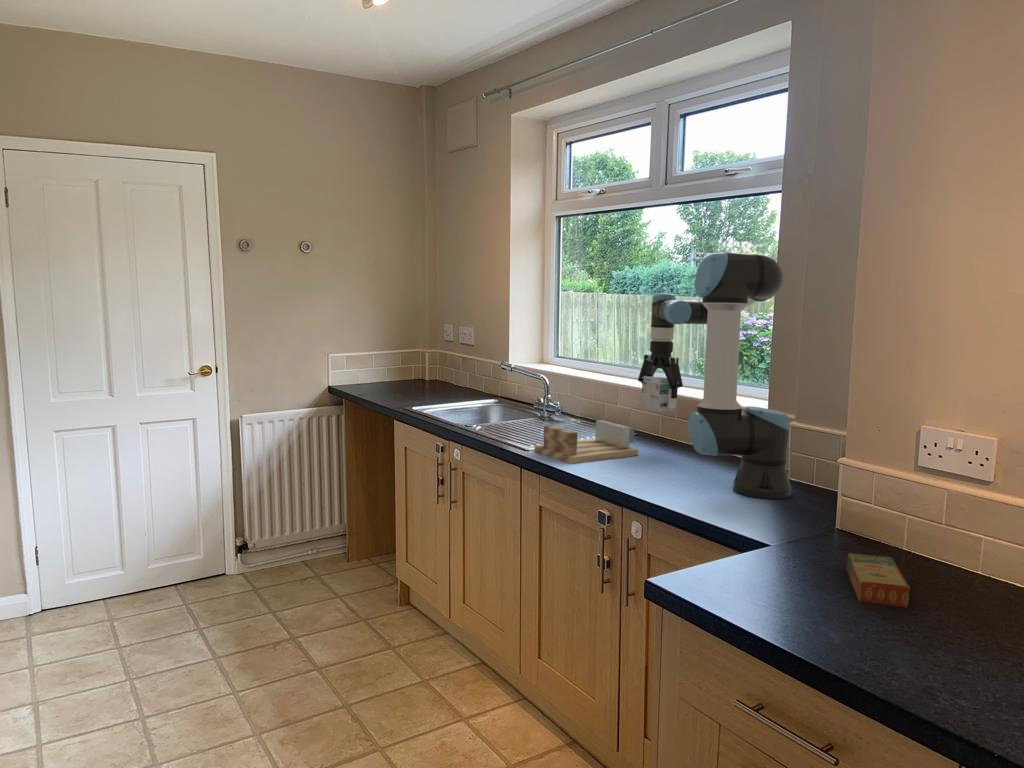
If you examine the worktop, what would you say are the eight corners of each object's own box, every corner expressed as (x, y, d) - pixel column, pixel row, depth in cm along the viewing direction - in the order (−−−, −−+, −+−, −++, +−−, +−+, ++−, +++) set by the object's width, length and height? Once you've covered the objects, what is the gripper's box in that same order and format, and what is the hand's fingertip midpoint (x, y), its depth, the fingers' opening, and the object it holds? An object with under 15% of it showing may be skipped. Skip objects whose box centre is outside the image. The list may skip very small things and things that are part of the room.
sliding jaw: (644, 445, 252) (645, 425, 251) (622, 448, 247) (623, 427, 246) (617, 438, 264) (618, 418, 263) (595, 440, 259) (596, 420, 258)
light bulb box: (676, 411, 246) (677, 379, 244) (658, 412, 243) (660, 379, 242) (658, 406, 255) (659, 375, 254) (641, 407, 253) (642, 375, 252)
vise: (637, 455, 247) (639, 428, 246) (570, 463, 232) (571, 435, 231) (599, 443, 264) (600, 418, 263) (534, 451, 249) (535, 424, 248)
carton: (857, 602, 134) (859, 580, 133) (845, 571, 149) (846, 550, 149) (908, 609, 132) (910, 586, 131) (890, 576, 147) (892, 555, 146)
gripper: (696, 342, 239) (692, 409, 241) (645, 338, 259) (642, 400, 261) (679, 342, 235) (676, 411, 237) (629, 338, 254) (626, 401, 257)
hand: (658, 405), depth 249 cm, fingers closed on light bulb box, 11 cm apart
